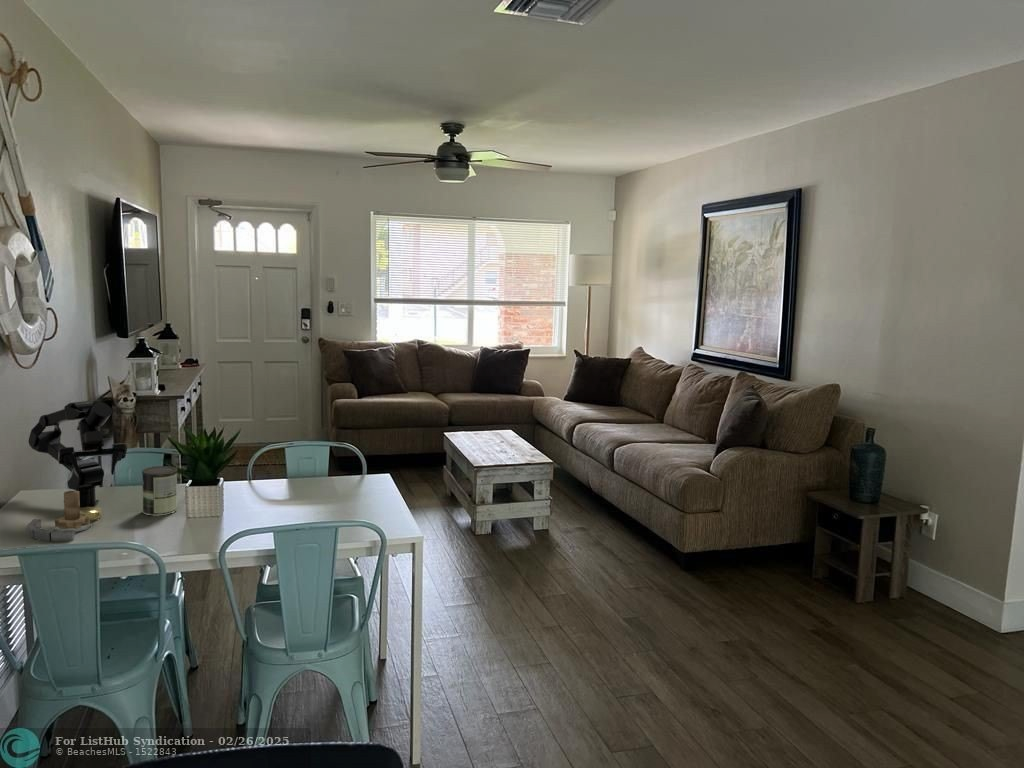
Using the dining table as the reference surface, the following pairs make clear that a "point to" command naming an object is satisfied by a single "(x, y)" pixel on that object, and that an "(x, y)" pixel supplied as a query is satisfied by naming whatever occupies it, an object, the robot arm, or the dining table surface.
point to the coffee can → (159, 490)
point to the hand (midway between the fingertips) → (96, 476)
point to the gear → (72, 512)
